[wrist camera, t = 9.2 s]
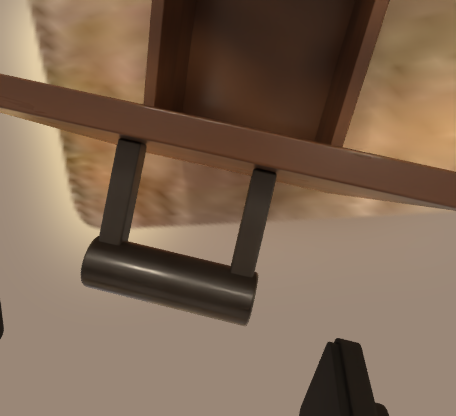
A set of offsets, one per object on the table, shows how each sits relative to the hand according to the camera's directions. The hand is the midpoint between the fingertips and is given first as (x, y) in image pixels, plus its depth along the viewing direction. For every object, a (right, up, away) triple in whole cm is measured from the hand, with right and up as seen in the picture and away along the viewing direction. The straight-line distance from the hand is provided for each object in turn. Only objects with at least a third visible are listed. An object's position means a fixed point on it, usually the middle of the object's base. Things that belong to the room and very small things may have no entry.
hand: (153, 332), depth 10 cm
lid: (+2, +6, +7) cm, 9 cm away
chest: (+5, +17, +20) cm, 27 cm away
